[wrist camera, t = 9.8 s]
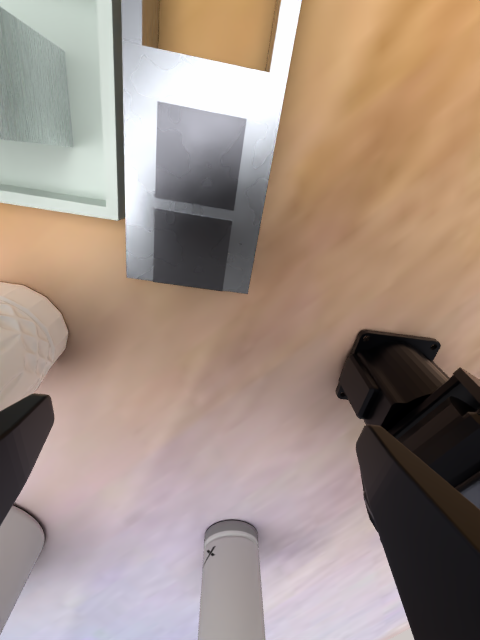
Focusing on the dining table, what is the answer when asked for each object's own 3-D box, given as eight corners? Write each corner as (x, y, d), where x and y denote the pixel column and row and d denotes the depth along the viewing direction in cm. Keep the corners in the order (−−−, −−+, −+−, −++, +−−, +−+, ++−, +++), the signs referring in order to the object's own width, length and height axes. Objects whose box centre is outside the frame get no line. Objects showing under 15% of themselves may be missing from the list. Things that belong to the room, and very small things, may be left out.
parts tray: (130, -15, 13) (110, -52, 11) (132, 213, 18) (118, 220, 16) (-112, -71, 12) (-190, -125, 10) (-45, 185, 17) (-88, 188, 15)
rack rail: (333, -227, 11) (367, -356, 8) (245, 277, 20) (247, 294, 17) (142, -289, 10) (111, -454, 8) (140, 262, 19) (125, 278, 17)
